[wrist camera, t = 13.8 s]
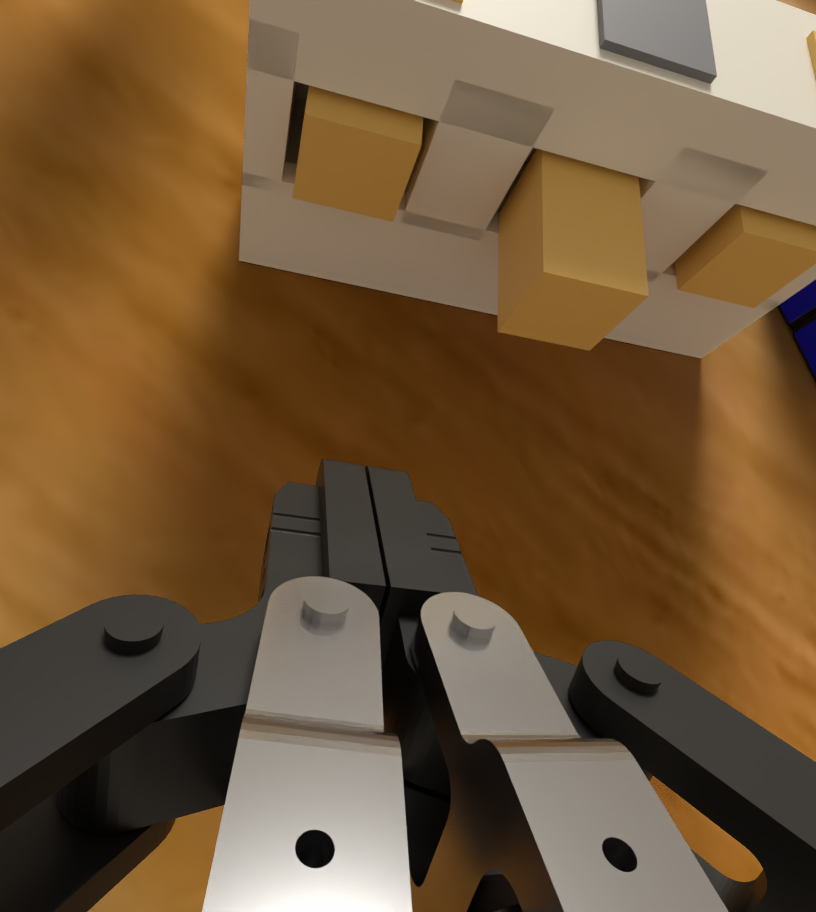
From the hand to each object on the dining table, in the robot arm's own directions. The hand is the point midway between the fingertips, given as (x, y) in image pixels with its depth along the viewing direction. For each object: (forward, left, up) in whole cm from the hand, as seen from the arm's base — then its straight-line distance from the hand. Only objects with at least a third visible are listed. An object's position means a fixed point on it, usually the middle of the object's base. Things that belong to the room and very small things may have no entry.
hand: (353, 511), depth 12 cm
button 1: (0, +18, -9) cm, 20 cm away
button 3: (+17, +18, -9) cm, 26 cm away
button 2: (+8, +14, -9) cm, 19 cm away
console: (+8, +19, -15) cm, 26 cm away
